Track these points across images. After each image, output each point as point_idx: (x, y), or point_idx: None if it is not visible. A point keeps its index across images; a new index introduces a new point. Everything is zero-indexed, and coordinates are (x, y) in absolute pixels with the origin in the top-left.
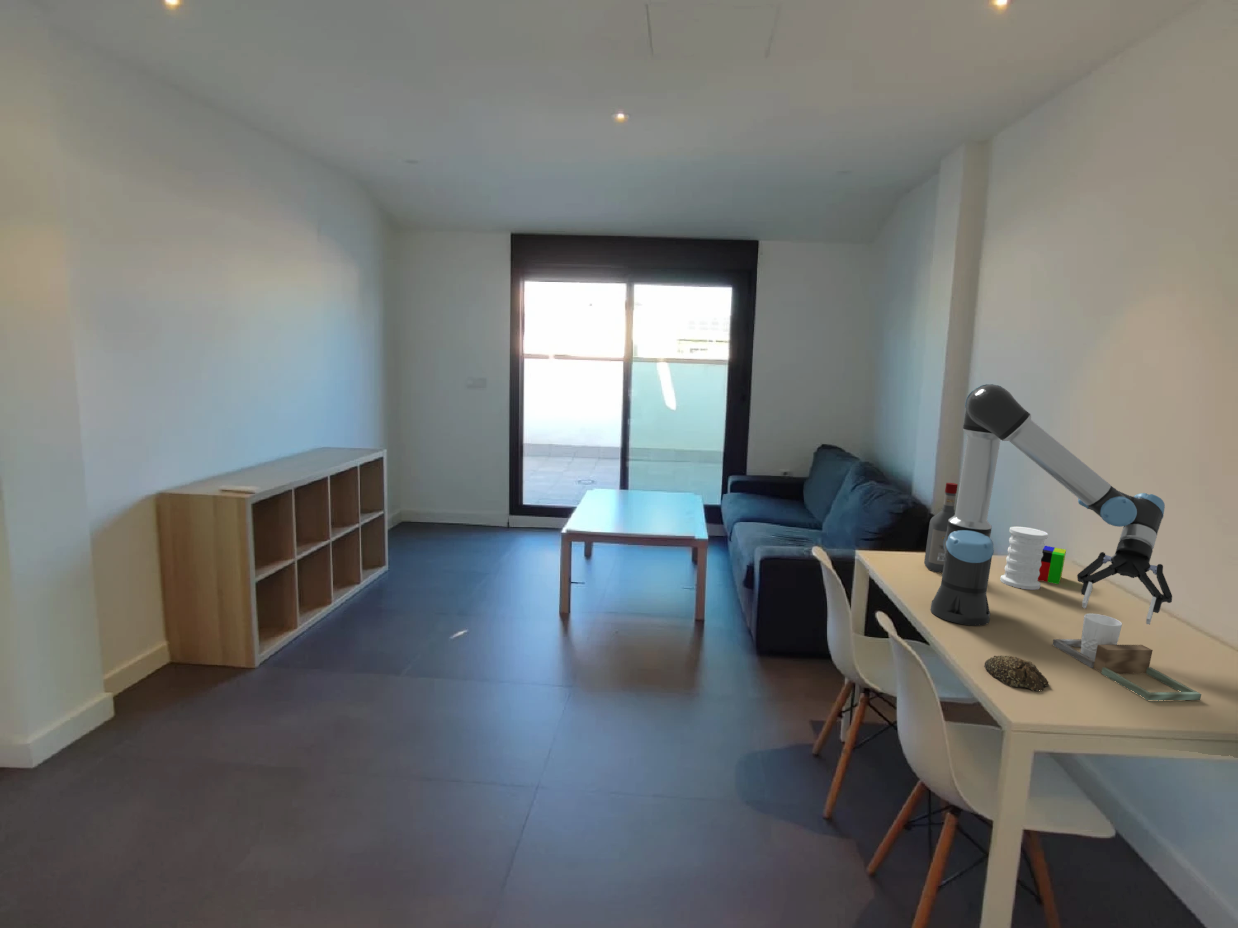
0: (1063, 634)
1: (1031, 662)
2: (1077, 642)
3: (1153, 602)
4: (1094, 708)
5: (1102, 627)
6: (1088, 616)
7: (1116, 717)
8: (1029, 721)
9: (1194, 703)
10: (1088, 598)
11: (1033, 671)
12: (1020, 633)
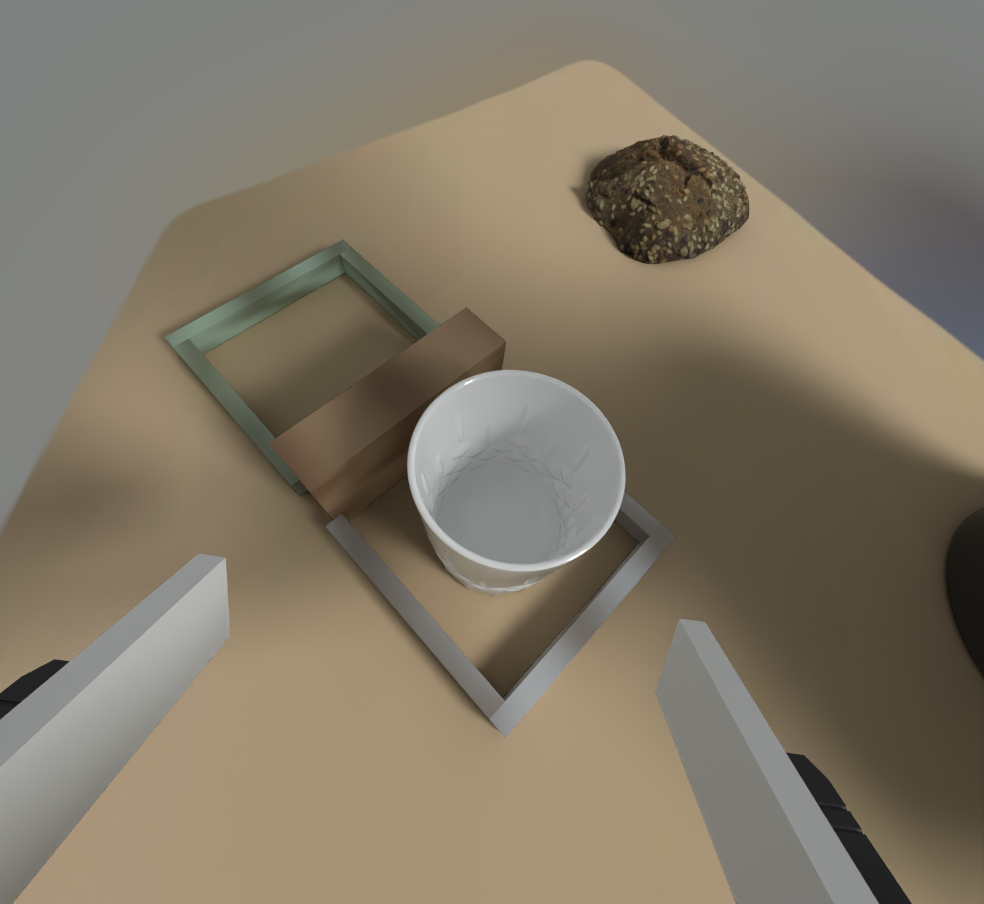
0: (668, 779)
1: (656, 223)
2: (585, 607)
3: (40, 697)
4: (477, 157)
5: (508, 383)
6: (601, 520)
7: (432, 144)
8: (577, 64)
9: None
10: (696, 752)
11: (633, 163)
12: (805, 595)
